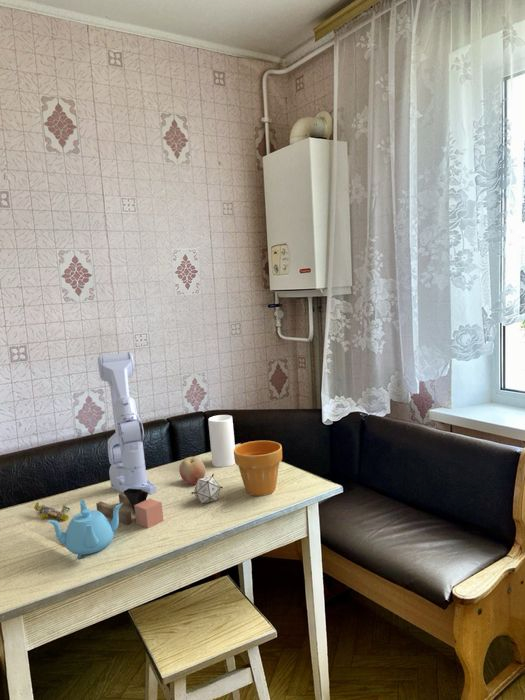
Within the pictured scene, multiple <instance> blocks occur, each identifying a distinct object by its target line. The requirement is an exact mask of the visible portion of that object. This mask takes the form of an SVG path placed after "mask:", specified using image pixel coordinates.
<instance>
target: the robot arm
mask: <svg viewBox="0 0 525 700" xmlns="http://www.w3.org/2000/svg"><path fill="white" fill-rule="evenodd" d="M97 365H98V373H99V378H100V379H101V380H100V381H103V382H107V384H108V385H109V387H110V397H111V405H112V406H111V407H112V414H113V420H114V421H113V422H114V430H115V432H114V434H112V435H111V436H110V437H109V438H108V439H107V454H108V461H109V464H110V467H109V470H108V473H109V474H108V475H109V481H110V482H109V483H110V488H111V489H114V490H117V492H119V493H122V492H124V494H125V496H126V497H127V498H128V500H129V502H130V504H131V506H132V508H131V509H132V511H133V513H134V515H135V507H134V505H136V504H138V503H140V502H143V501H145V500H147V498H148V495H154V494H156V493H157V492H158V491H157V486H156V484H154V483H152V482H151V481H150V480H149V479H148V478H147V471H146V469H147V468H146V461H145V451H144V445H143V441H144V439H145V434H144V433H145V432H144V426H143V422H142V419H141V418H140V417H141V416H140V415H139V414H138V409H137V404H136V400H135V399H134V398H133V397H131V396H130V389H129V388H130V387H129V378H131V377H132V376H133V374H134V373H135V362H134V356H133V353H131V351H127V352H123V353H121V352H120V353H113V354H106V355H102V354H101V355H100V354H99V355H98V357H97Z"/></svg>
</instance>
